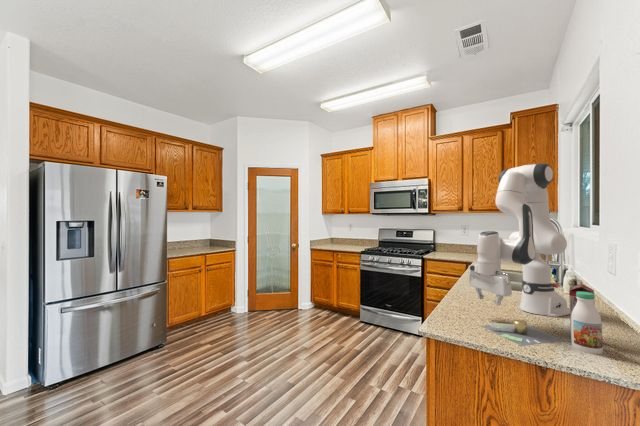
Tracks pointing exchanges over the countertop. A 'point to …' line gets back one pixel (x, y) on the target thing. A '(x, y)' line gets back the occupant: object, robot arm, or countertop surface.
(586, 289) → the milk carton
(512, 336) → the dial board
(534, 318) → the countertop surface
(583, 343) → the milk bottle
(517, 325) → the tuner knob with pointer
